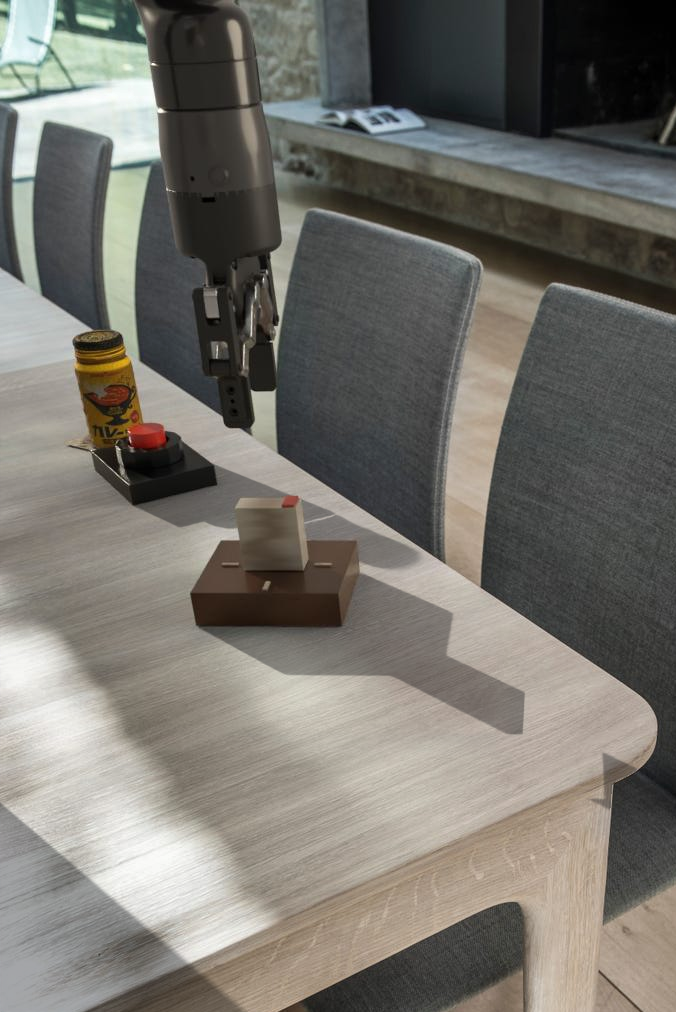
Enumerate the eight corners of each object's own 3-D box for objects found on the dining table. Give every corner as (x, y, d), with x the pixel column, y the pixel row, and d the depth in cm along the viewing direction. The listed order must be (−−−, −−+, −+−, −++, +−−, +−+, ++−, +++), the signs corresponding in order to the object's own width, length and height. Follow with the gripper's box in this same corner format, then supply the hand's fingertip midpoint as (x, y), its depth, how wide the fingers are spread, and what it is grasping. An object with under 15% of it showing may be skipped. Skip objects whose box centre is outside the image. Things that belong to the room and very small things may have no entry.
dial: (243, 570, 95) (233, 505, 92) (250, 559, 97) (240, 494, 93) (303, 570, 94) (295, 505, 91) (308, 559, 96) (301, 494, 93)
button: (126, 443, 119) (122, 427, 118) (159, 436, 121) (156, 420, 120) (138, 453, 117) (134, 436, 116) (171, 446, 118) (168, 429, 117)
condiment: (117, 457, 126) (94, 347, 119) (64, 445, 130) (39, 337, 123) (164, 437, 131) (145, 330, 125) (112, 425, 135) (90, 321, 128)
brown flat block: (195, 625, 93) (189, 591, 92) (225, 571, 102) (220, 538, 100) (341, 626, 93) (338, 591, 91) (360, 571, 101) (357, 538, 99)
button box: (95, 470, 123) (86, 434, 121) (175, 452, 127) (168, 416, 125) (133, 506, 115) (125, 467, 112) (217, 485, 119) (211, 447, 116)
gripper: (194, 164, 86) (226, 380, 95) (136, 197, 74) (180, 440, 83) (293, 162, 86) (316, 379, 94) (250, 195, 74) (282, 439, 83)
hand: (252, 407), depth 89 cm, fingers open, 8 cm apart
